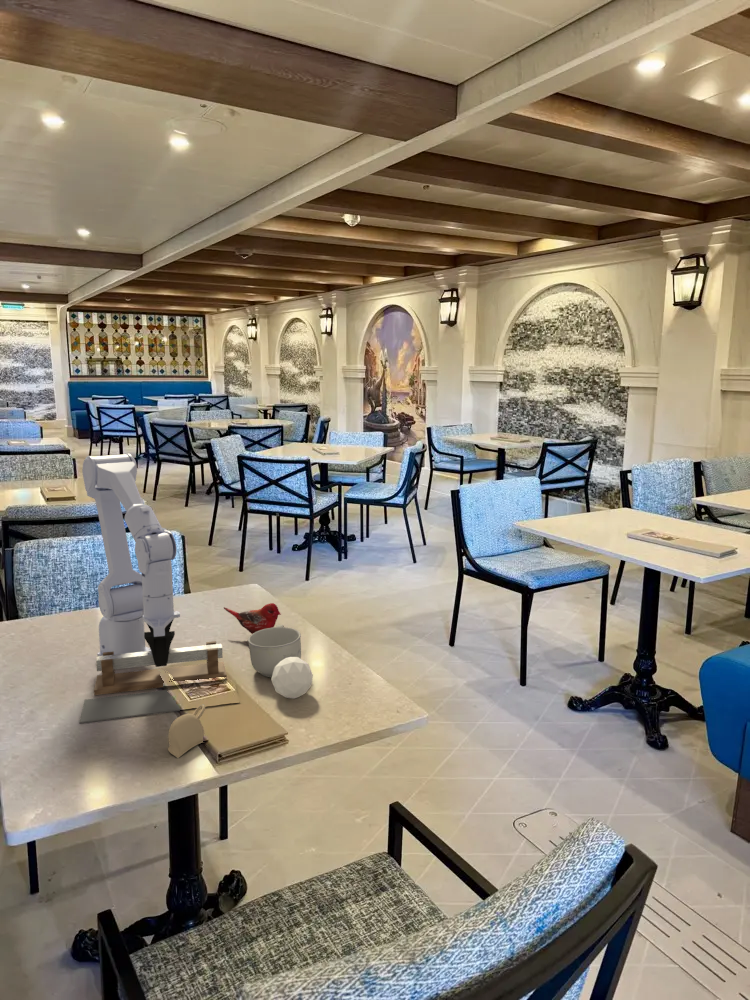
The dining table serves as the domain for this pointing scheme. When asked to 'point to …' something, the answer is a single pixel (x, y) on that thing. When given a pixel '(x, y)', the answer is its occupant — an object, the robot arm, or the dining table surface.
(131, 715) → the mat
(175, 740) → the decorative ornament
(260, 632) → the teacup
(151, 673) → the hook stands
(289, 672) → the geometric ball
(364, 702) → the dining table surface
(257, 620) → the decorative bird figurine
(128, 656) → the steel bar
